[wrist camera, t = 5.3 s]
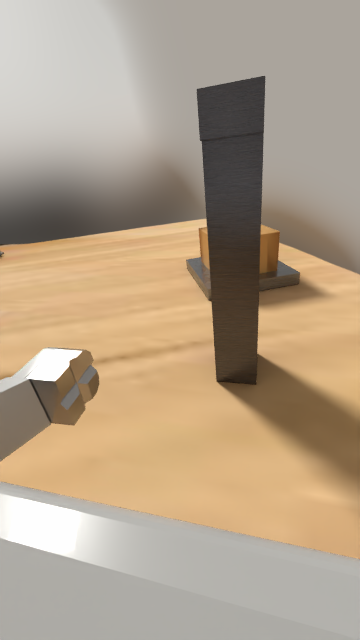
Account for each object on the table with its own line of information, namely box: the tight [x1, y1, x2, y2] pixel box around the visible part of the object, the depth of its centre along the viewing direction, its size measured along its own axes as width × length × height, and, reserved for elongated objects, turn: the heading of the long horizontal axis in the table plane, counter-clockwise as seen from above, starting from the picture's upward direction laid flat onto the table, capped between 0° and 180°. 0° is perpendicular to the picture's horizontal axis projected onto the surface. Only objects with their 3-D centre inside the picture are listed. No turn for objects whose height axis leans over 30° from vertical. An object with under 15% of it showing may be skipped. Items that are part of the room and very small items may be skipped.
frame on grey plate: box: [186, 225, 300, 300], centre depth 39 cm, size 13×12×6 cm
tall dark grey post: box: [197, 76, 265, 384], centre depth 19 cm, size 5×3×18 cm, turn 166°
